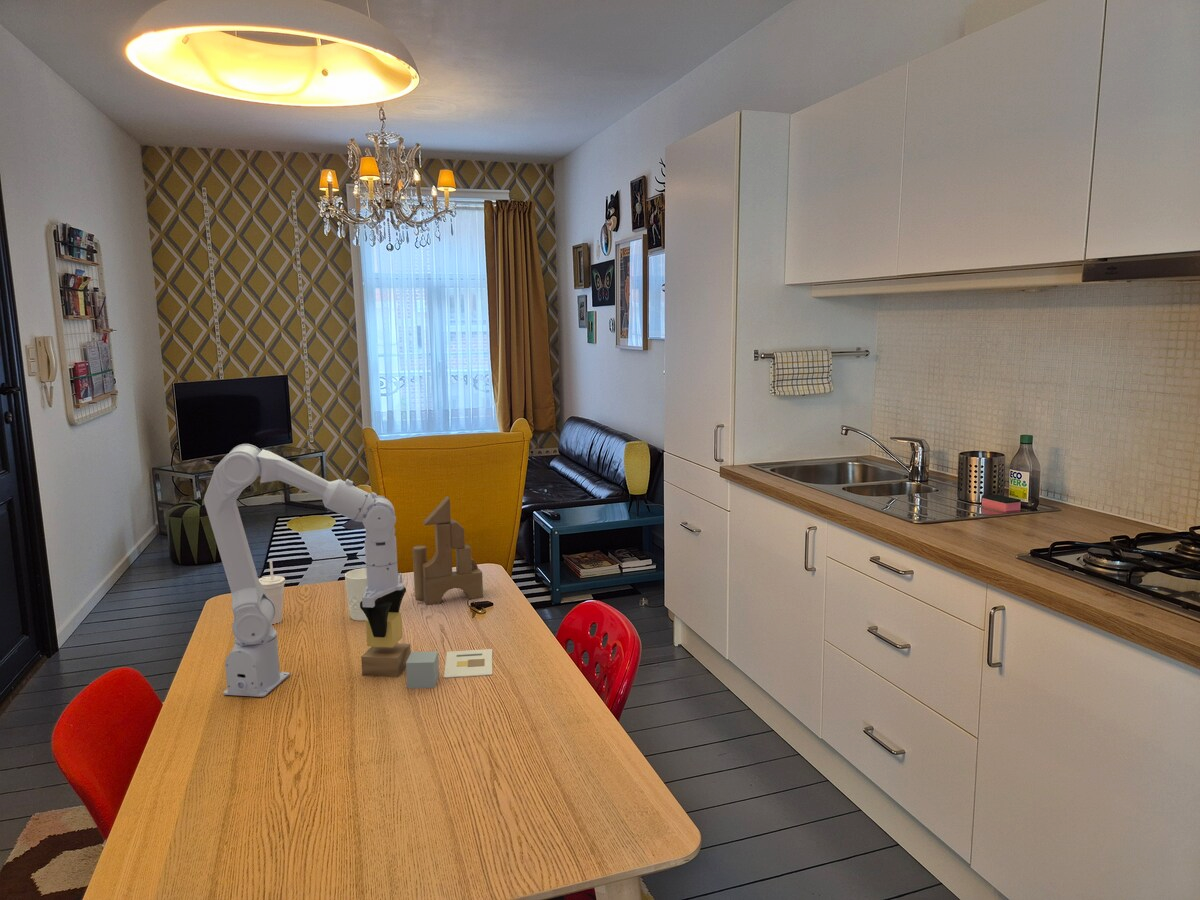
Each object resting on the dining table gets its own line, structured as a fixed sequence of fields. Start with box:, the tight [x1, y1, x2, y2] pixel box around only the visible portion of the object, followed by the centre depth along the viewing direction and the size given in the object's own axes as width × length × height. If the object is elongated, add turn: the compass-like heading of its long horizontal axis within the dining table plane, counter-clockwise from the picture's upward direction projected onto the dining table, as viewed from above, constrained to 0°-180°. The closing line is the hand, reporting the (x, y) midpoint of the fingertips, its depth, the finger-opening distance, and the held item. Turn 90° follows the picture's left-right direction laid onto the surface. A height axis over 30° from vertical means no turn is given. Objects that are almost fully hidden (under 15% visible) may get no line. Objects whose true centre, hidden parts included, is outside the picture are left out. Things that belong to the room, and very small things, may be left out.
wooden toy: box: [412, 495, 484, 606], centre depth 196 cm, size 16×7×25 cm, turn 111°
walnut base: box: [360, 642, 412, 678], centre depth 158 cm, size 7×7×4 cm
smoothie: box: [258, 560, 286, 625], centre depth 182 cm, size 6×6×14 cm
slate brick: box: [405, 650, 440, 690], centre depth 151 cm, size 5×5×5 cm
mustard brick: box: [365, 612, 403, 648], centre depth 157 cm, size 5×5×5 cm
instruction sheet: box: [443, 648, 493, 679], centre depth 160 cm, size 12×9×1 cm
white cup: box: [344, 567, 368, 622], centre depth 186 cm, size 8×8×10 cm
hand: (385, 630), depth 157 cm, fingers closed on mustard brick, 5 cm apart
